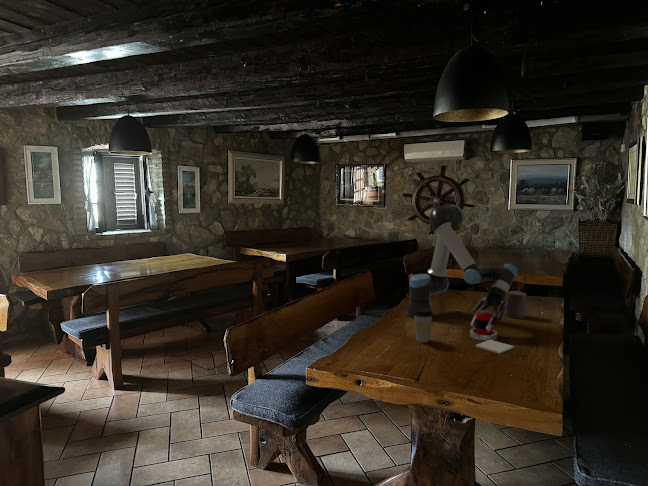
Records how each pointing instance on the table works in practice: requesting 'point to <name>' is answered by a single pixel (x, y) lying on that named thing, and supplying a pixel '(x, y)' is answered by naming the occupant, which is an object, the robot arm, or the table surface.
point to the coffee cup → (422, 324)
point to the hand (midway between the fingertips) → (479, 327)
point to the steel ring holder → (483, 337)
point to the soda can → (483, 322)
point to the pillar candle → (516, 304)
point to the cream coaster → (494, 346)
